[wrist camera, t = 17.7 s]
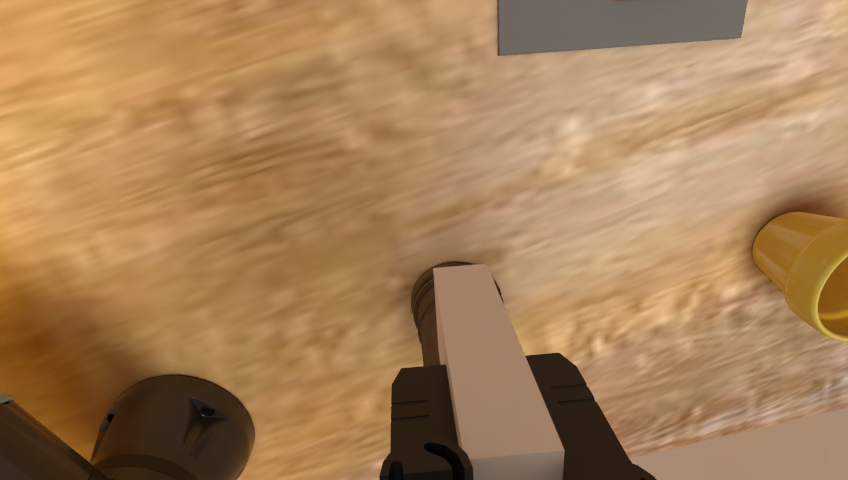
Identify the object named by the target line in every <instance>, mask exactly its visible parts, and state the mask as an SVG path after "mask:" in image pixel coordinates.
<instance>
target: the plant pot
mask: <svg viewBox="0 0 848 480" xmlns="http://www.w3.org/2000/svg"><path fill="white" fill-rule="evenodd" d="M752 255H753V259H754V262H755V263H756V265H757V266H758V267H759V268H760V269H761V270H762V271H763V272H764V273H765V274H766V275H767V276H768V277H769V279H770V280H771V281H772V282H773V283H774V284H775V285H776V286H777V287H778V288H779V289H780V290H781V291H782V292H783V293H784V295H785V299H786V302H787V304H788V306H789V307H790V309H791V310H792V311H793V312H794V313H795V314H796V315H797V316H798V317H800V318H801V319H802V320H803V321H805V322H806V323H808V324H809V325H810V326H812V327H813V328H815V329H816V330H818V331H819V332H821V333H822V334H824V335H825V336H827V337H829V338H832V339H835V340H838V341H844V342H848V219H845V218H838V217H832V216H825V215H819V214H813V213H806V212H789V213H785V214H782V215H780V216H778V217H776V218H774V219H773V220H771V221H770V222H768V223H767V224H766V225H765V226H764V227H763V228H762V229H761V231H760V232H759V233H758V235H757V237H756V239H755V241H754V244H753V249H752Z"/></svg>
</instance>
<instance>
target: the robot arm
mask: <svg viewBox="0 0 848 480" xmlns="http://www.w3.org/2000/svg"><path fill="white" fill-rule="evenodd" d="M433 275H434V289H435V304H436V319H437V334H438V349H439V357H440V364H441V365H434V366H423V367H411V368H401V370H400V372H399V373H398V375H397V377H396V378H395V380H394V382H393V384H392V402H391V403H392V407H391V453H390V454H389V455H388V456H387V458H386V459H385V460H384V462H383V465H382V469H381V473H380V476H379V477H380V480H656V479H655V477H654V476H652V475H651V474H650V473H648V472H647V471H645V470H644V469H642V468H641V467H639V466H637V465H635V464H632V462H631V461H630V460H629V458H628V456H627V455H626V453H625V451H624V449H623V448H622V446H621V444H620V442H619V441H618V439H617V437H616V435H615V434H614V432H613V430H612V428H611V426H610V425H609V423H608V421H607V419H606V418H605V416H604V414H603V412H602V411H601V409H600V407H599V405H598V404H597V402H595V399H594V396H593V395H592V393H591V391H590V389H589V388H588V387H587V386H586V382H585V381H584V379H583V377H582V375H581V374H580V372H579V370H578V368H577V367H576V366H575V365H574V364H573V363H571V362H570V361H569V360H568V359H566V358H565V357H564V356H562V355H561V354H560V353H551V354H540V355H529V356H525V354H524V352H523V350H522V347H521V345H520V342H519V340H518V338H517V335H516V333H515V330H514V328H513V326H512V323H511V321H510V319H509V316H508V314H507V311H506V309H505V307H504V304H503V302H502V299H501V297H500V295H499V292H498V290H497V287H496V285H495V283H494V280H493V278H492V275H491V273H490V271H489V268H488V266H487V264H476V265H464V266H452V267H441V268H433ZM14 400H15V399H14V398H13V397H12V396H9V395H3V394H2V393H0V480H236V479H237V478H238V477H239V476H240V475H241V473H242V472H243V470H244V468H245V466H246V464H247V462H248V459H249V456H250V454H251V451H252V448H253V445H254V428H253V424H252V421H251V418H250V416H249V414H248V413H247V411H246V410H245V408H244V407H243V406H242V405H241V403H240V402H239V401H238V400H237V399H236V398H234V397H233V396H232V395H231V394H229V393H228V392H227V391H225V390H224V389H222V388H220V387H218V386H216V385H214V384H212V383H209V382H207V381H204V380H201V379H197V378H193V377H187V376H177V375H169V376H159V377H153V378H149V379H146V380H143V381H141V382H139V383H137V384H135V385H133V386H131V387H130V388H128V389H127V390H126V391H125V392H124V393H123V394H122V395H121V396H120V397H119V398H118V400H117V401H116V402H115V403H114V405H113V406H112V407H111V408H110V410H109V411H108V412H107V414H106V416H105V417H104V419H103V421H102V424H101V427H100V430H99V433H98V437H97V440H96V443H95V446H94V450H93V453H92V456H91V459H90V463H89V462H88V461H87V460H86V459H84V458H83V457H82V456H81V455H79V454H78V453H77V452H76V451H74V450H73V449H72V448H71V447H69V446H68V445H67V444H66V443H64V442H63V441H62V440H61V439H60V438H58V437H57V436H56V435H55V434H53V433H52V432H51V431H50V430H48V429H47V428H46V427H45V426H43V425H42V424H41V423H40V422H39V421H37V420H36V419H35V418H34V417H32V416H31V415H30V414H29V413H27V412H26V411H25V410H24V409H23V408H21V407H20V406H19V405H18V404H16V403H15V402H14Z"/></svg>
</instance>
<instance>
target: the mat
mask: <svg viewBox="0 0 848 480" xmlns="http://www.w3.org/2000/svg"><path fill="white" fill-rule="evenodd" d="M747 1H748V0H625V1H615V0H498V56H504V55H517V54H531V53H544V52H558V51H571V50H585V49H598V48H612V47H625V46H639V45H652V44H666V43H679V42H693V41H706V40H720V39H733V38H741V35H742V29H743V24H744V18H745V12H746V6H747Z"/></svg>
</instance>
